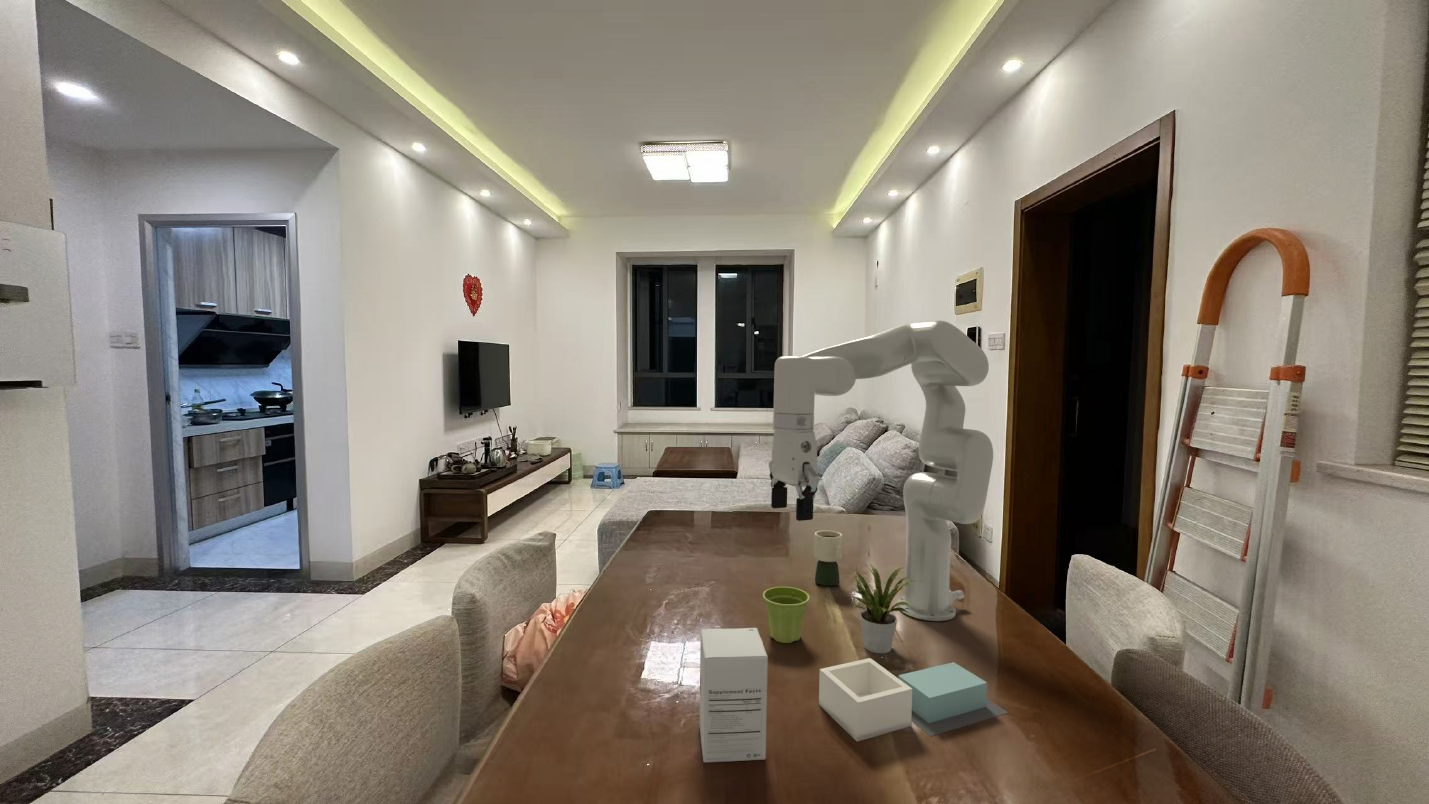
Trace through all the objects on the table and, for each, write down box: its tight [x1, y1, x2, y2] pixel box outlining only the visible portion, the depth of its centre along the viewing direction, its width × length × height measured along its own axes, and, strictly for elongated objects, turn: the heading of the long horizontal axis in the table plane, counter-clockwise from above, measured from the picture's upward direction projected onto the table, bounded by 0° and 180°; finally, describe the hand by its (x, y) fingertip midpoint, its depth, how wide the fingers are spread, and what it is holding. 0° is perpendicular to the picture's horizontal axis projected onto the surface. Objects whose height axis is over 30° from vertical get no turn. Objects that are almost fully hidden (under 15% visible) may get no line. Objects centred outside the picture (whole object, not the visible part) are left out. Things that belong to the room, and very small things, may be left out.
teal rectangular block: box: [897, 661, 988, 723], centre depth 92 cm, size 12×7×4 cm, turn 113°
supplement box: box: [699, 627, 769, 763], centre depth 82 cm, size 9×9×15 cm
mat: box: [911, 698, 1009, 737], centre depth 92 cm, size 16×12×1 cm
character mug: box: [813, 530, 843, 587], centre depth 145 cm, size 11×7×13 cm, turn 20°
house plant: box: [850, 563, 924, 654], centre depth 111 cm, size 14×14×16 cm
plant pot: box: [762, 586, 810, 644], centre depth 115 cm, size 9×9×9 cm
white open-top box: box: [818, 657, 912, 742], centre depth 89 cm, size 10×10×6 cm
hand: (791, 513), depth 106 cm, fingers open, 9 cm apart
